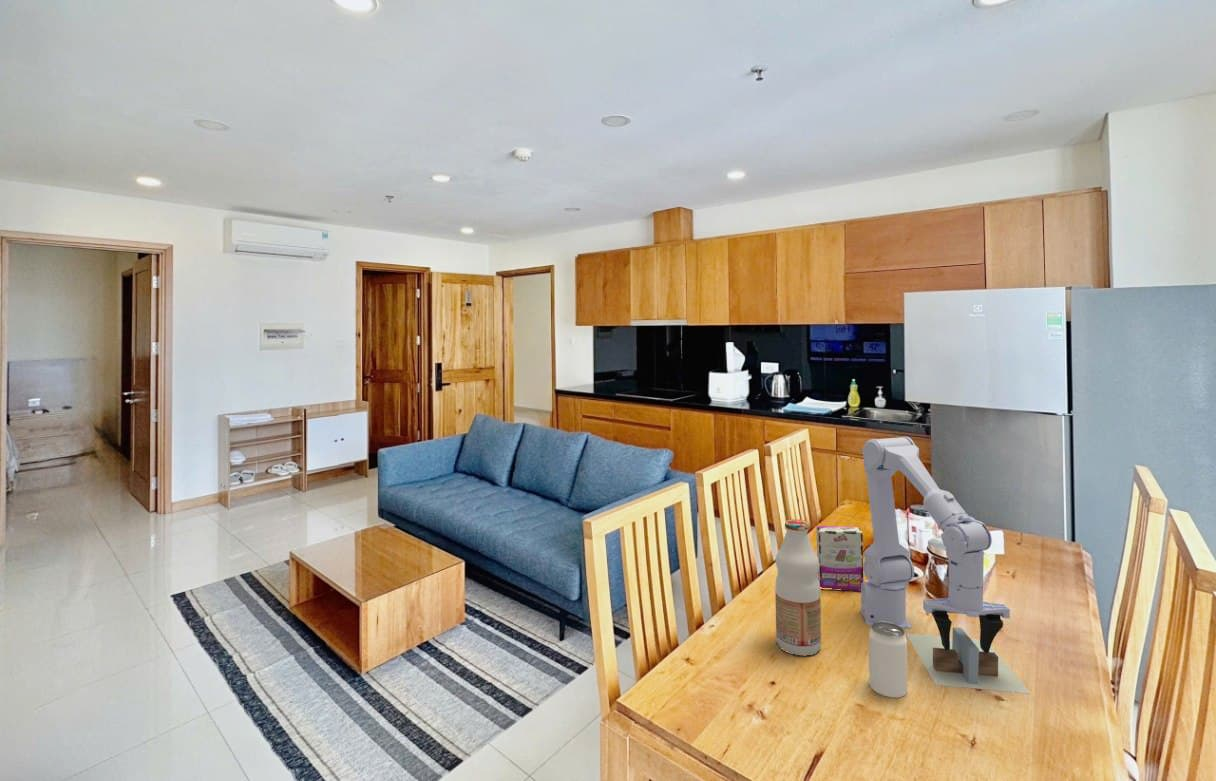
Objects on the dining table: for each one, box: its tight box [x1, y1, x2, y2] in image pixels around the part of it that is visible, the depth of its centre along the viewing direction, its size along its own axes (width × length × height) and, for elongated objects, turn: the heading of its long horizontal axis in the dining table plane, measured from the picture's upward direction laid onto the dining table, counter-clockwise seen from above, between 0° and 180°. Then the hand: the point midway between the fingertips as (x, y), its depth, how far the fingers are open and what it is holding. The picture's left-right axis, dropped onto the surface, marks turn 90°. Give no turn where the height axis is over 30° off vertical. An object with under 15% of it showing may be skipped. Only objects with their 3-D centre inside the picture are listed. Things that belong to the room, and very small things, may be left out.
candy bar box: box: [816, 525, 864, 592], centre depth 147 cm, size 11×5×16 cm, turn 77°
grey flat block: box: [951, 626, 979, 684], centre depth 108 cm, size 2×8×7 cm, turn 167°
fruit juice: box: [774, 518, 822, 657], centre depth 119 cm, size 9×9×28 cm
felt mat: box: [905, 633, 1032, 695], centre depth 112 cm, size 16×19×1 cm
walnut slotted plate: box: [933, 648, 998, 677], centre depth 108 cm, size 11×2×4 cm, turn 76°
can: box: [868, 622, 908, 699], centre depth 104 cm, size 6×6×12 cm
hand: (964, 648), depth 108 cm, fingers open, 6 cm apart
